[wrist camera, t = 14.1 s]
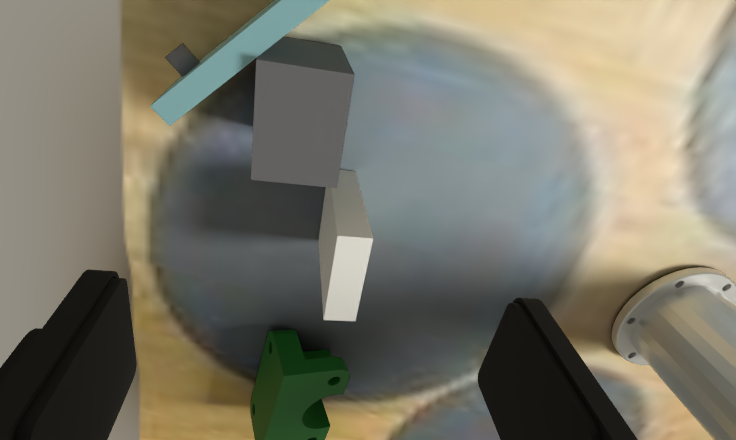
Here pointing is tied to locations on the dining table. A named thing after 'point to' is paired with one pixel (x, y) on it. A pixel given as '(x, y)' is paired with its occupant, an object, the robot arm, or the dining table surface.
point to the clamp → (294, 389)
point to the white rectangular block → (343, 248)
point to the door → (228, 56)
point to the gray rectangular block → (300, 112)
